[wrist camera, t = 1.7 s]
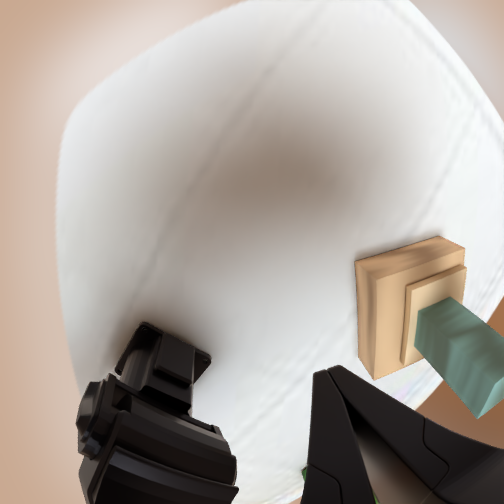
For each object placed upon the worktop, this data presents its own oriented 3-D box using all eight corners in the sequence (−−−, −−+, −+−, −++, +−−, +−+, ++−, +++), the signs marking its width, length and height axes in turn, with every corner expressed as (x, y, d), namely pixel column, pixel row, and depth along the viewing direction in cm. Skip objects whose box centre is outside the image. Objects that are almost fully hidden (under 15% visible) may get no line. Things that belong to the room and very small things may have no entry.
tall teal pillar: (400, 361, 21) (460, 440, 12) (406, 286, 18) (497, 364, 9) (450, 336, 21) (513, 398, 12) (461, 264, 19) (547, 320, 10)
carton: (358, 357, 25) (373, 380, 22) (354, 261, 21) (376, 279, 18) (432, 326, 25) (451, 344, 22) (439, 235, 22) (465, 248, 18)
